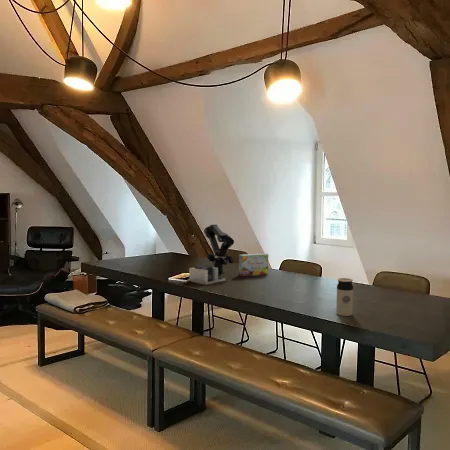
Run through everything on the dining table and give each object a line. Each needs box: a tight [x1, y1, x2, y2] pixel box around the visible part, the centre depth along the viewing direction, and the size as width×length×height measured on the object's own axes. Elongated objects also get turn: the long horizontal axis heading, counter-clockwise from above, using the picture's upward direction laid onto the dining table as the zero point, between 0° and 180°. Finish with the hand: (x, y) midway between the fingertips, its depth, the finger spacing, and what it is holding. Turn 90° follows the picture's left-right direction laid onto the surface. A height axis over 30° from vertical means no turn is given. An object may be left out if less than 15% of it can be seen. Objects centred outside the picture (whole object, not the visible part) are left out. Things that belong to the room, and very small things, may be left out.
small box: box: [194, 264, 214, 282], centre depth 333 cm, size 11×6×10 cm, turn 54°
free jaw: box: [212, 266, 219, 281], centre depth 337 cm, size 3×13×9 cm, turn 49°
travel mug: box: [336, 277, 354, 317], centre depth 253 cm, size 8×8×18 cm
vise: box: [187, 267, 226, 285], centre depth 335 cm, size 19×17×9 cm
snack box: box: [238, 252, 269, 277], centre depth 357 cm, size 21×6×15 cm, turn 114°
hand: (216, 268), depth 342 cm, fingers closed
